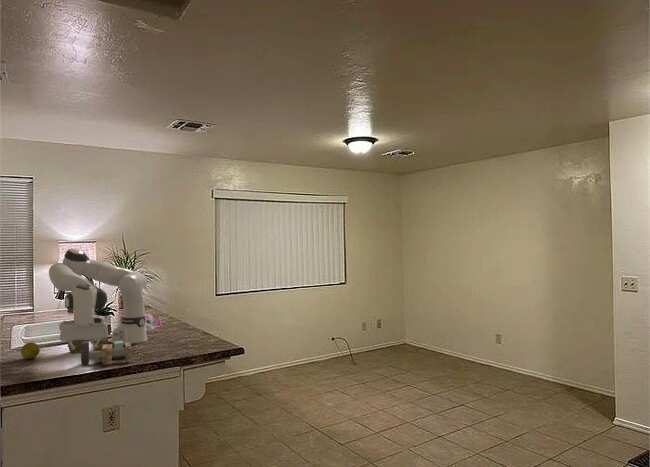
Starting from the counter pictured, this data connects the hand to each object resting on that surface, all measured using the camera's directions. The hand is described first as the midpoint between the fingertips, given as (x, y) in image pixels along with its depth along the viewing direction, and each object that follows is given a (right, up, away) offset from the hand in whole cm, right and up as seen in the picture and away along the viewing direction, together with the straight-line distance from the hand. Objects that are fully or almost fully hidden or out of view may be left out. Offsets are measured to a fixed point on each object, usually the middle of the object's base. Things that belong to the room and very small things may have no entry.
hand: (84, 348), depth 222 cm
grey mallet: (+9, -7, +4) cm, 12 cm away
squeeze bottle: (-17, -8, +24) cm, 31 cm away
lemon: (-33, -8, +11) cm, 36 cm away
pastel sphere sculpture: (-7, -8, +89) cm, 89 cm away
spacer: (+14, -2, +6) cm, 15 cm away
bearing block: (+13, -7, +5) cm, 16 cm away
